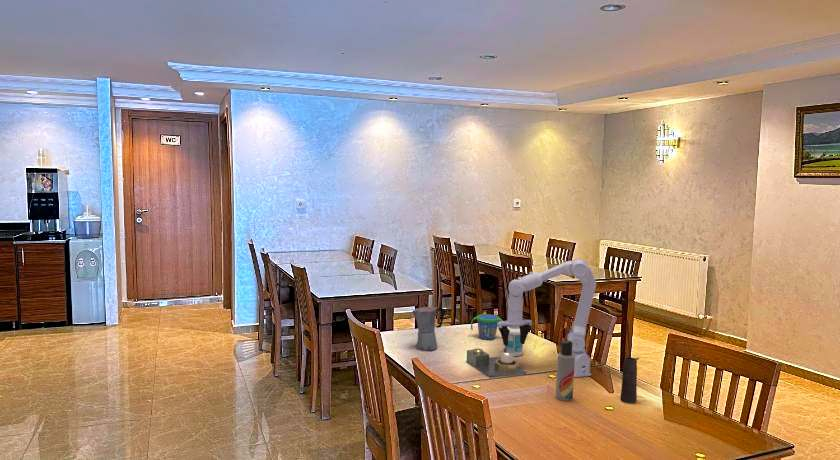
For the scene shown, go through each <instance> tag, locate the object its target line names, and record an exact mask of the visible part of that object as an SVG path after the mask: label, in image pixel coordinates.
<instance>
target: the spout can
mask: <svg viewBox="0 0 840 460" xmlns="http://www.w3.org/2000/svg"><path fill="white" fill-rule="evenodd" d="M499 355H500V356H499V357H500V364H502V365H513V360H514V356H513V352H512V351H506V349H505V347H504V348H503V350H500V353H499Z"/></svg>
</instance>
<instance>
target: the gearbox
mask: <svg viewBox="0 0 840 460" xmlns="http://www.w3.org/2000/svg"><path fill="white" fill-rule="evenodd" d="M466 363H467V364H469V365H471V366H472V367H474V368H475V369H476V370H478V371H479V372H481V373H482V374H483V375H484V376H487V377H488V378H491V379H492V378H497V377H498V378H499V377H500V378H501V377H511V376H517V375H518V376H519V375H526V374H527V373H528V372H527V370H525V369H523V368H522V367H520V366H519V362H518V361H516V360H514V359H513V365H502V364H500V356H493V357H490V354H489V353H488V352H486V351H484V349H482V348H473V349H468V350H466Z"/></svg>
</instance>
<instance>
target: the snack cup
mask: <svg viewBox="0 0 840 460" xmlns="http://www.w3.org/2000/svg"><path fill="white" fill-rule="evenodd" d="M474 320H477V328H478V329H477V330H478V337H479V338H480V339H482V340H490V341H492V340H494V339H495V338H496V336H497V331H498V327H497V322H502V321H504V320H503V319H502V318H500V317H499V316H498V315H495V314H488V313H487V314H486V313H483V314H478V315H476V316H475V317H473V318H472V320H471V322H470V330H471V331H473V321H474Z"/></svg>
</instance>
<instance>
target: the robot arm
mask: <svg viewBox="0 0 840 460" xmlns="http://www.w3.org/2000/svg"><path fill="white" fill-rule="evenodd" d="M571 274H572V275H573V277H574V278H576V279H577V280H579V281H580V283H581V284H582V287H581V293H580V297H579V300H578V305H577V310H576V313H575V316H574V319H573V320H574V321H573V324H572V326H571V330H570V331H569V332H568V334H567V336H566V340H567V341H572V343H573V346H572V354H573V355H574V356H575V364H574V378H581V377H588V376H592V373H590V372H591V359H590V356H589V355H588V354H587V353H586V348H585V347H586V340H585V338H586V332H587V331H586V329H587V324H588V322H589V316H590V313H591V308H592V303H593V300H594V296H595V292H596V289H597V288H596V287H597V281H596V279H595V276H594V274H593V271H592V269H591V267H590V266H589V265H588V263H586V261H585V260H583V259H582V258H574V259H572V260H568V261H565V262H562V263H560V264H558V265H556V266H553V267H550V268H549V269H547V270H545V271H541V272H537V271H534V272H533V271H530V272H529V274H527V275H524V276H519V277H517V279H512V280H511V281H510V282H509V284H508V298H507V300H508V301H507V320H503V321H502V322H501V321H499V322H497V330H499V333H500V335H501V337H502V344H503V346H504V347H505V346H508V336H509V332H510V330H509V329H508V327H513V326H519V328H520V343H522V344H523V345H525V342H526V340H527V337H528V335H529V332H530V331H531V330H532V326H533V325H532V324H533V321H532V320H531V319H523V315H524V314H523V309H524V308H523V307H524V306H523V305H524V299H523V294H524V292H529V291H531V290H534V289H536V288H538V287H540V286H542V285H543V282H545V281H547V280H549V279H553V278H555V277H557V276H561V275H566V276H572V275H571Z"/></svg>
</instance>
